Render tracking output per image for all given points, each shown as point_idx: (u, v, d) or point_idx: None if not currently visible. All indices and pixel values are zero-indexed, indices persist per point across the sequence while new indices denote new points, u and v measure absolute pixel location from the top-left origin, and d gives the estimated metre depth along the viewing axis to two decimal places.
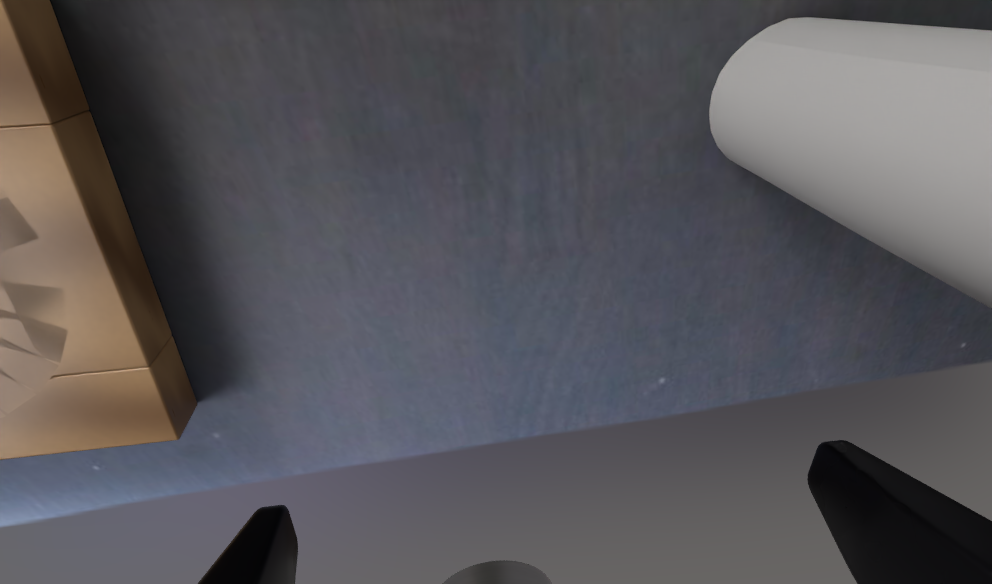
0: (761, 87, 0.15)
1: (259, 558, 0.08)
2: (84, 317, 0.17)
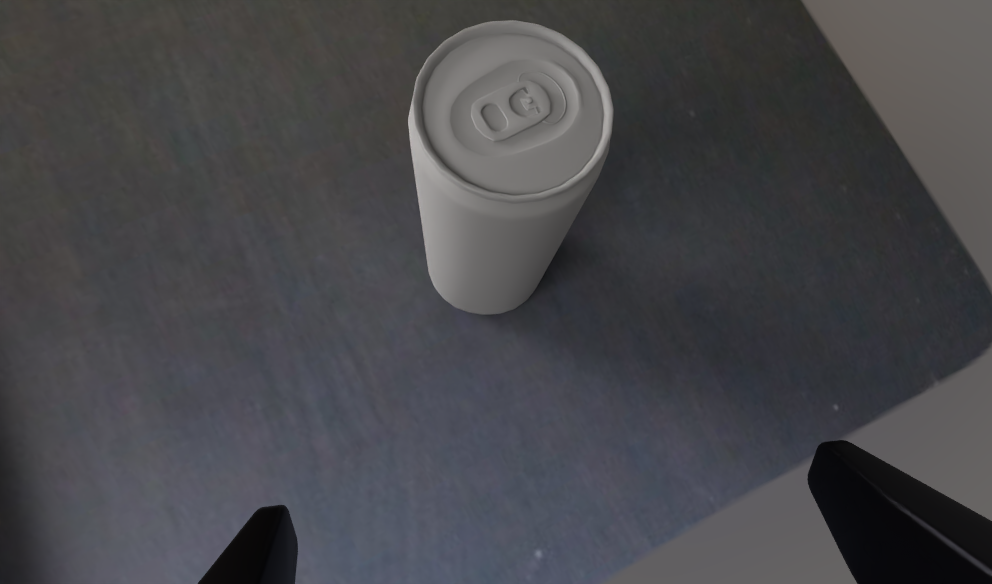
0: None
1: (259, 558, 0.08)
2: None
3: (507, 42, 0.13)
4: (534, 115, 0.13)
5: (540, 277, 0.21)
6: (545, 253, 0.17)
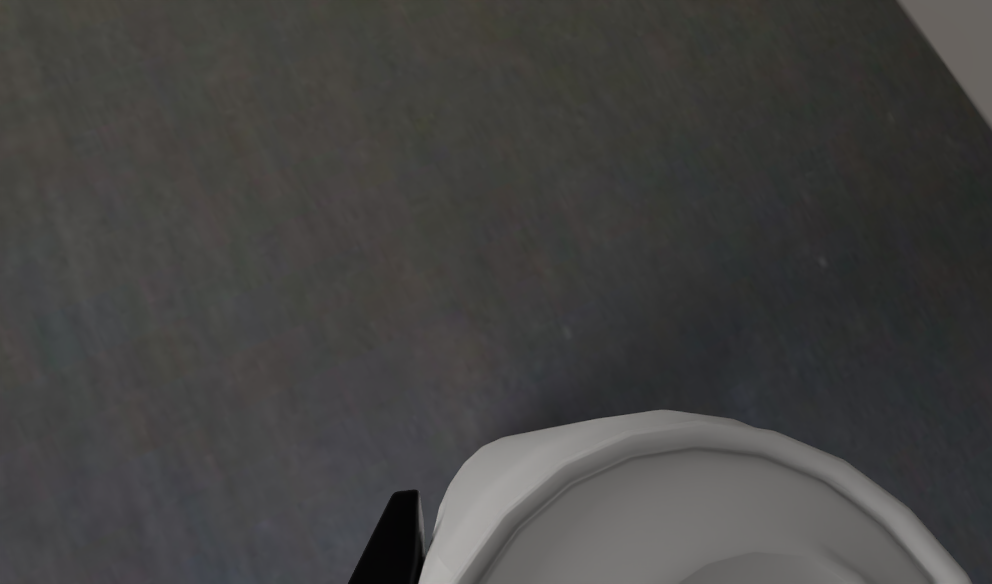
0: None
1: (411, 539, 0.08)
2: None
3: (686, 490, 0.04)
4: None
5: None
6: None
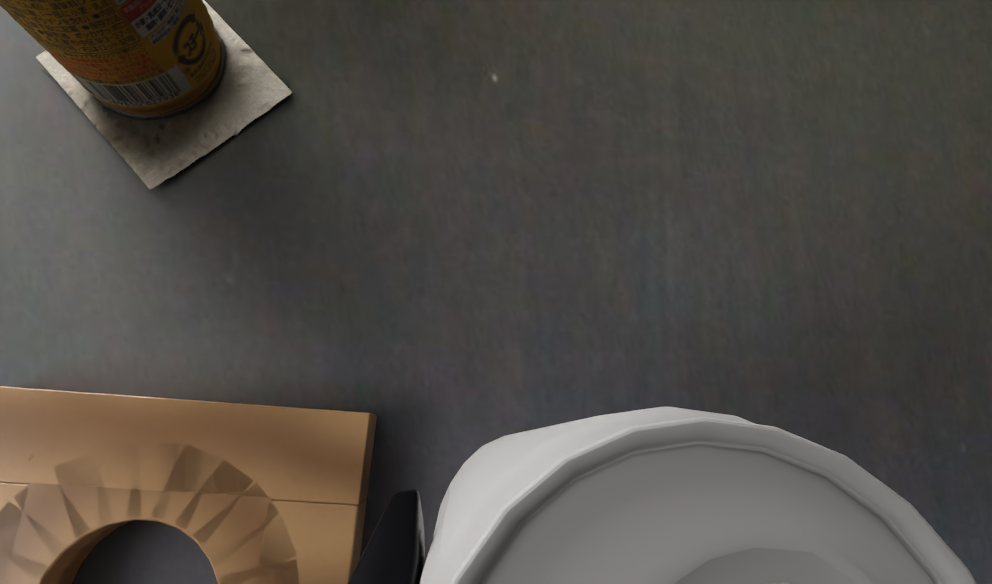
0: None
1: (410, 539, 0.08)
2: None
3: (688, 486, 0.04)
4: None
5: None
6: None
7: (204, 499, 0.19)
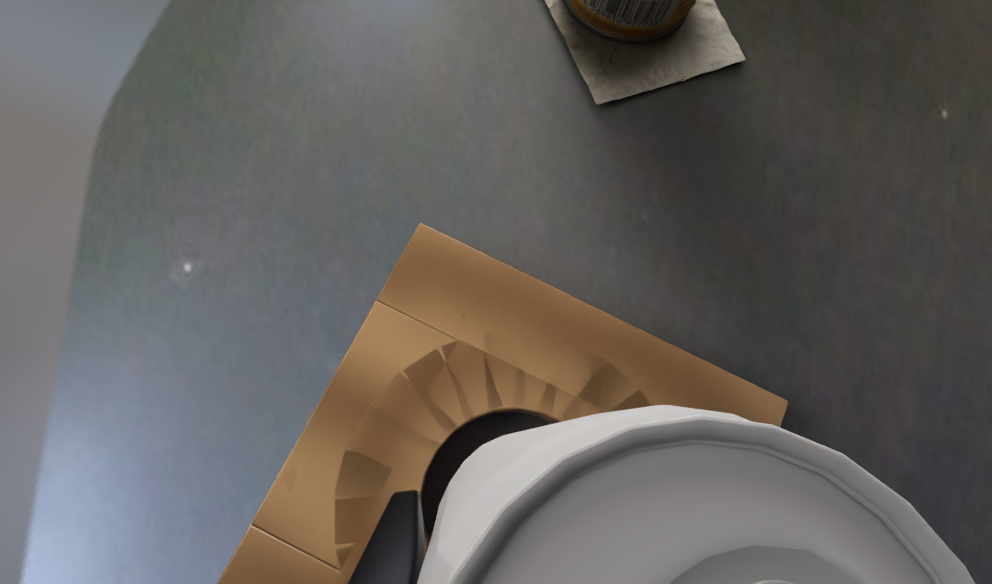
0: None
1: (411, 539, 0.08)
2: None
3: (685, 484, 0.04)
4: None
5: None
6: None
7: None
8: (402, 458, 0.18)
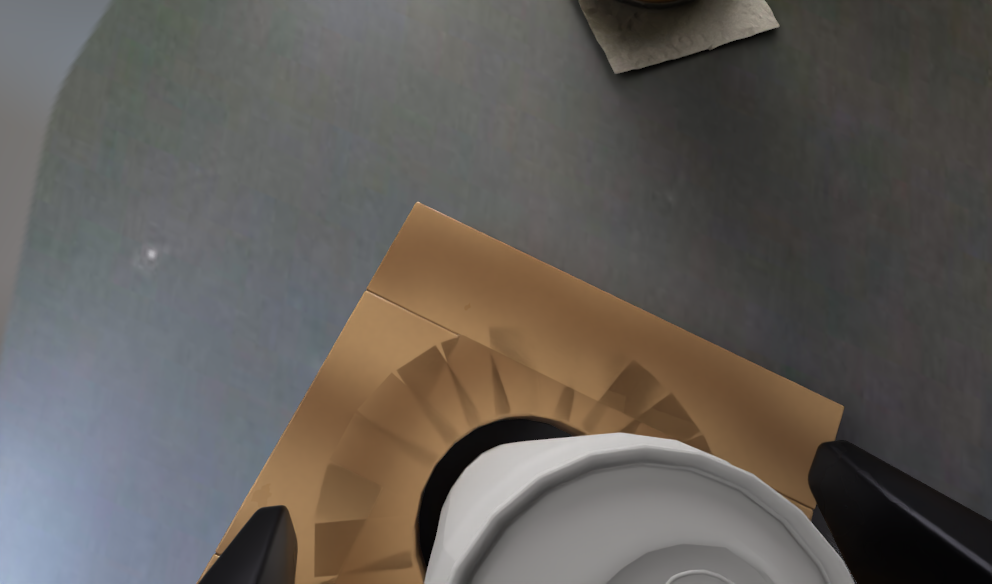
0: None
1: (259, 558, 0.08)
2: None
3: (632, 497, 0.06)
4: None
5: None
6: None
7: (639, 429, 0.16)
8: (395, 474, 0.15)
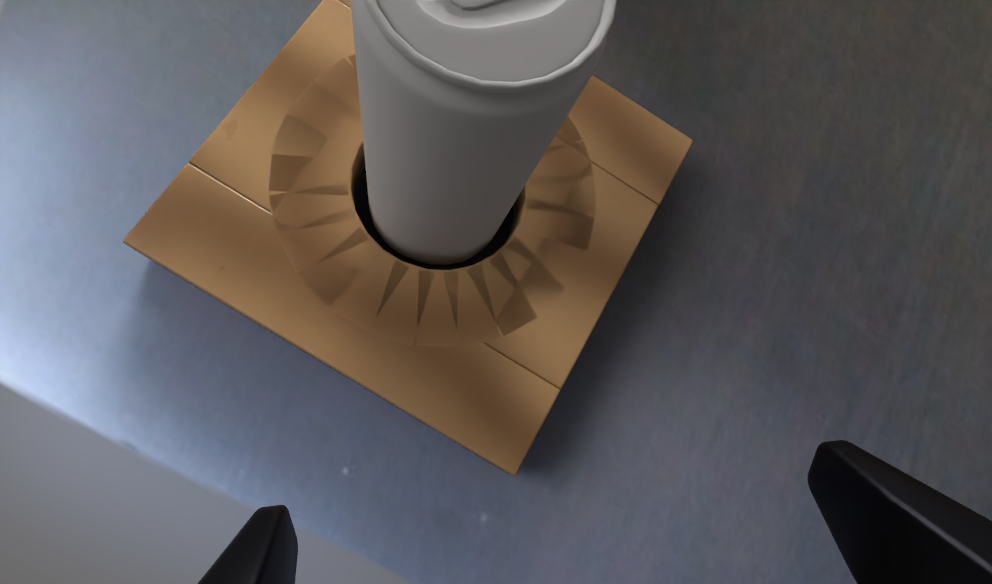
0: None
1: (259, 558, 0.08)
2: (557, 317, 0.19)
3: None
4: None
5: (498, 224, 0.18)
6: (509, 185, 0.14)
7: None
8: (339, 129, 0.19)
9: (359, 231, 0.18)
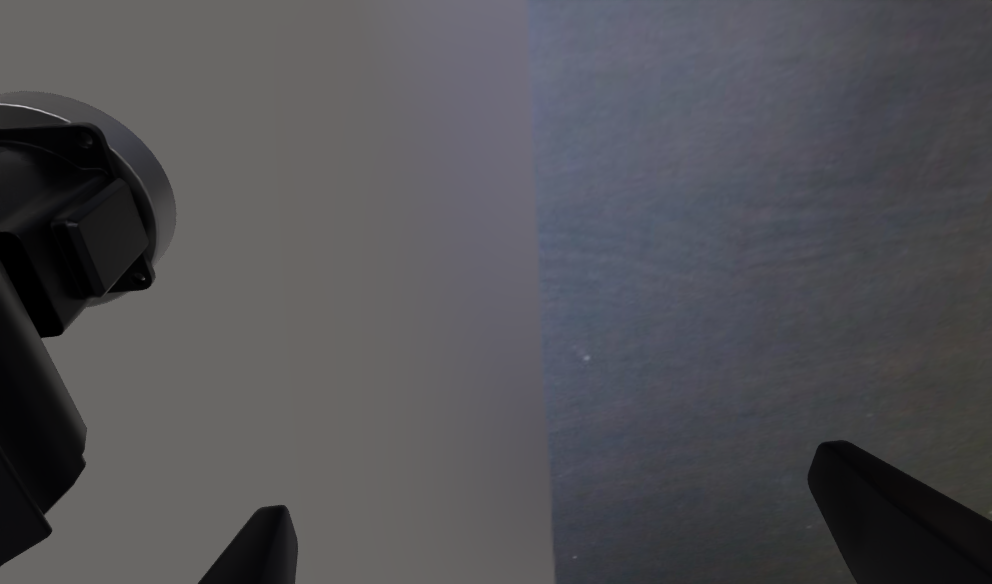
0: None
1: (259, 558, 0.08)
2: None
3: None
4: None
5: None
6: None
7: None
8: None
9: None
